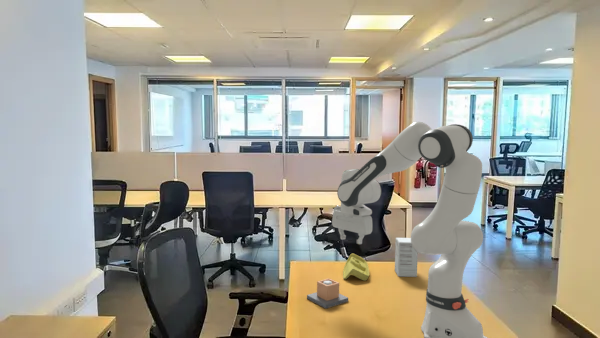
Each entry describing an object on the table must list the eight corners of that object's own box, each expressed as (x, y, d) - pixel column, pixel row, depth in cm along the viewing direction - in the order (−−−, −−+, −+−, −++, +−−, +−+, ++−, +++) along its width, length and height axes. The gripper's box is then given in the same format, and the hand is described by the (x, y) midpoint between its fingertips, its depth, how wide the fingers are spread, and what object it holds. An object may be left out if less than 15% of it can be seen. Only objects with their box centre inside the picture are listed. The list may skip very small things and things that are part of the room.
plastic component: (369, 276, 194) (350, 267, 194) (362, 290, 195) (343, 280, 195) (367, 260, 213) (349, 251, 213) (360, 272, 215) (343, 263, 215)
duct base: (348, 301, 171) (348, 283, 171) (325, 308, 164) (326, 290, 164) (328, 292, 181) (329, 275, 180) (306, 298, 174) (307, 280, 173)
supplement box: (417, 277, 201) (418, 242, 199) (397, 276, 201) (399, 242, 199) (412, 270, 210) (414, 237, 208) (394, 270, 210) (395, 237, 209)
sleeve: (338, 297, 172) (339, 282, 171) (327, 300, 168) (327, 286, 167) (328, 292, 177) (328, 278, 176) (316, 295, 173) (317, 281, 173)
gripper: (328, 205, 179) (328, 237, 180) (364, 212, 163) (363, 247, 164) (339, 204, 183) (339, 235, 184) (375, 210, 167) (374, 245, 168)
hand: (351, 241), depth 174 cm, fingers open, 8 cm apart
